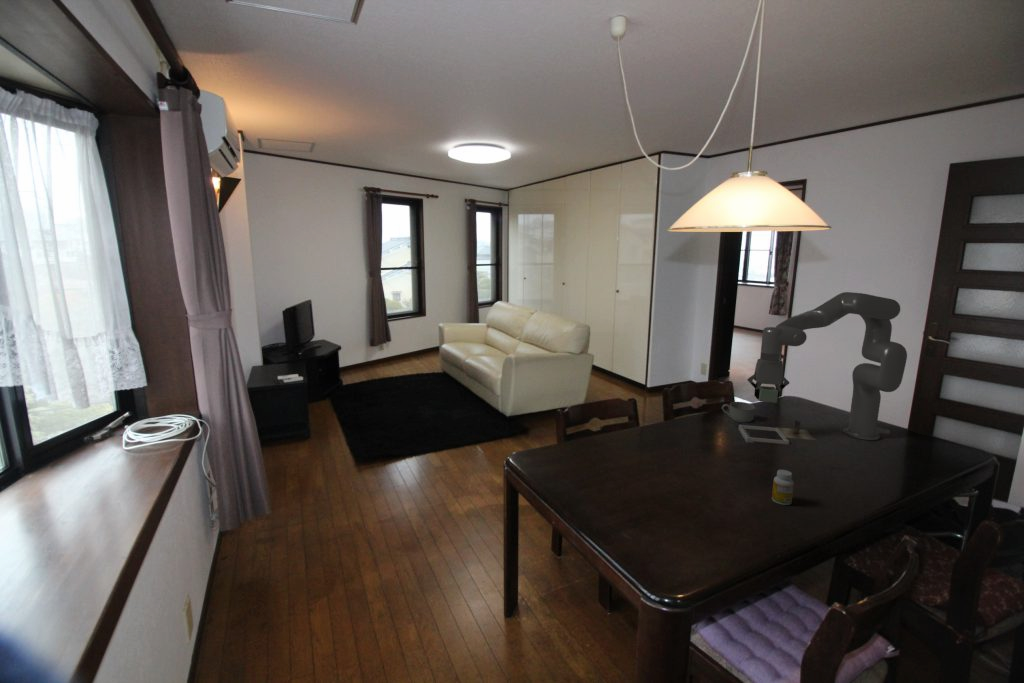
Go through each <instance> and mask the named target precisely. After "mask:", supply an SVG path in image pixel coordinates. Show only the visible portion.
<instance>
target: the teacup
mask: <svg viewBox="0 0 1024 683" xmlns="http://www.w3.org/2000/svg"><path fill="white" fill-rule="evenodd" d="M725 407H727V408H728V410H729V412H728V411H726V409H725ZM721 410H722V412H723V413H724V414H726V415H727V416H728V417H730V418H731V420H732V421H734V422H735V423H738V424H742V423H751V422H752V421H753V420H754V419H755V412H756V411H755V410H756V407H755V405H753V404H751V403H748V402H745V401H732V402H730V404H728V403H723V404H722V406H721Z"/></svg>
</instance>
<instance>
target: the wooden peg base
mask: <svg viewBox="0 0 1024 683" xmlns="http://www.w3.org/2000/svg"><path fill="white" fill-rule="evenodd" d="M793 422H794V423H793V428H790V427H789V428H788V427H776V428H778V429H779V430H780V431H781V432H782V433H783V435H784V436H785V437H786V438H787V439H798V440H812V441H817V438H816V437H814V435H813V434H812V433H810V431H809V430H807V429H800V428H801V421H800V420H794V421H793Z"/></svg>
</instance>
